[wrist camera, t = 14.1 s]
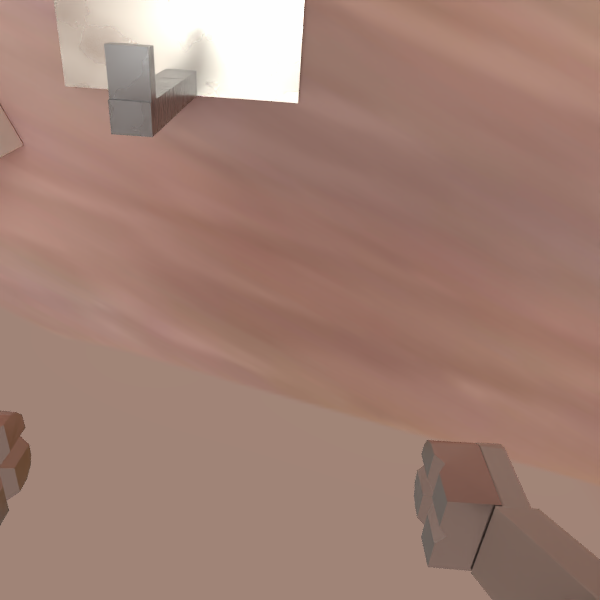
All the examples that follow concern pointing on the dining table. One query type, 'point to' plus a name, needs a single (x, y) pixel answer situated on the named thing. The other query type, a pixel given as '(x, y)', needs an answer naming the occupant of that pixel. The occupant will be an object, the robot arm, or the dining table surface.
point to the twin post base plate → (179, 54)
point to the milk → (7, 135)
